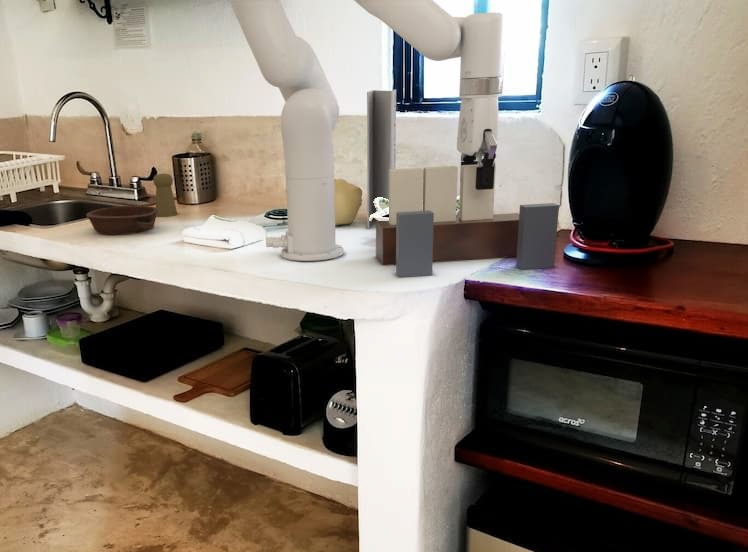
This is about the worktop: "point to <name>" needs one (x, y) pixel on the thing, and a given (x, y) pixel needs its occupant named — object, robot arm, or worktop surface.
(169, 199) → the olive pawn piece
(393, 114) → the tall grey panel
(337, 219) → the sculpture
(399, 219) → the grey book left
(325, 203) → the robot arm
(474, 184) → the cream book
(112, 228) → the dish
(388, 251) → the book shelf
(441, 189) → the cream book
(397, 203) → the cream book
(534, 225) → the grey rectangular block
